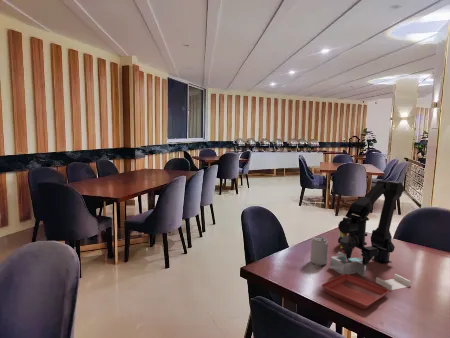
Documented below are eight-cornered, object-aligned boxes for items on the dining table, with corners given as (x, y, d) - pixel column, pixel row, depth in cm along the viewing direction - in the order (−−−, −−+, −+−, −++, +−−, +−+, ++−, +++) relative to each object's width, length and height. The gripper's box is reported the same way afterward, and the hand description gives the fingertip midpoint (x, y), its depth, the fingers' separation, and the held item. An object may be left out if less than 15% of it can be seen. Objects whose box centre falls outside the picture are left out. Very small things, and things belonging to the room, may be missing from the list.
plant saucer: (344, 280, 129) (345, 272, 128) (389, 298, 115) (390, 289, 115) (319, 293, 117) (320, 285, 117) (366, 315, 104) (367, 305, 103)
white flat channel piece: (395, 279, 130) (395, 273, 130) (410, 287, 123) (411, 281, 123) (375, 283, 126) (376, 277, 126) (390, 291, 119) (390, 285, 119)
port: (338, 262, 146) (339, 251, 145) (365, 277, 131) (366, 265, 130) (324, 264, 143) (324, 253, 142) (349, 280, 128) (350, 267, 127)
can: (327, 266, 141) (329, 241, 139) (310, 265, 142) (312, 240, 141) (325, 260, 148) (327, 236, 147) (309, 258, 150) (311, 235, 148)
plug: (357, 266, 142) (357, 257, 142) (363, 270, 138) (364, 260, 138) (344, 268, 140) (345, 258, 139) (351, 272, 136) (352, 262, 135)
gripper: (329, 226, 143) (327, 258, 145) (360, 238, 126) (357, 275, 127) (348, 224, 147) (346, 255, 149) (380, 236, 130) (377, 271, 131)
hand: (355, 264), depth 139 cm, fingers open, 9 cm apart
